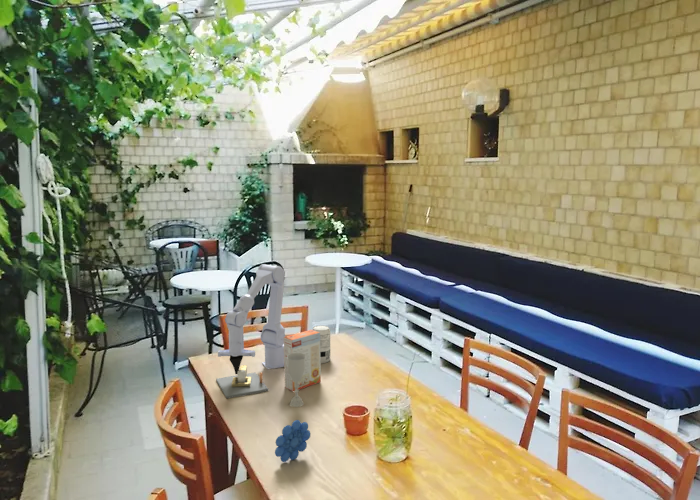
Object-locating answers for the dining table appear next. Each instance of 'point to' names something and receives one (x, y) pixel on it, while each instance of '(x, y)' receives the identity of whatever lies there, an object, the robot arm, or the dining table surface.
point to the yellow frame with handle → (244, 367)
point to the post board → (254, 387)
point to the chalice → (296, 374)
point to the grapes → (292, 441)
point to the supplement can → (324, 342)
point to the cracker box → (311, 348)
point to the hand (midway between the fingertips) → (237, 373)
